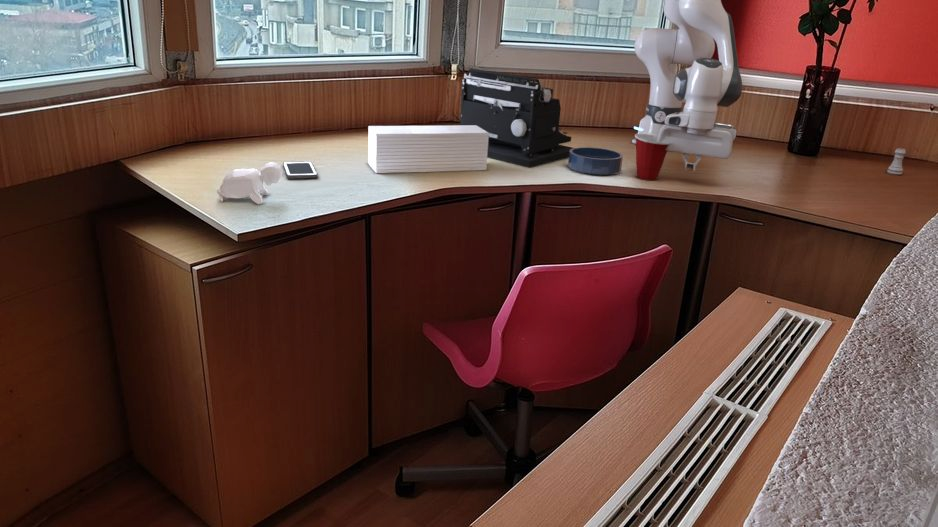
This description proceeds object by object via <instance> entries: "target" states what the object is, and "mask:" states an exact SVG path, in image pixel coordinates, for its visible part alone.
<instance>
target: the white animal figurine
mask: <svg viewBox="0 0 938 527" xmlns="http://www.w3.org/2000/svg"><path fill="white" fill-rule="evenodd" d="M283 176H284V170H283V169H282V166H281V165H280V164H279V163H277V162H272V161H271V162H267V163H266V164H264V165H263V166H262V167H261V168H260V171H259V170H258V169H255V168H236V169H233V170H231V171H229V172H228V173H227V174H226V175H225V176H224V178H223V179H222V182H221V185H220V186H219V188H218V189H217V190H216V191H215V192H216V193H217V195H218V197H219V200H220V202H224V198H226V199H247V198H250V199H251V200H252V201H253V203H255V204H256V205H262V204H263V202H264V198H263V197H262V195H264V196H266V195H268V192H269V191H268V189H267V188H266V187H265V186H264V184H265V185H266V186H271V185H275V184H278V183H279V182H280V181H281V180H282V178H283Z"/></svg>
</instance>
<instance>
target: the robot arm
mask: <svg viewBox="0 0 938 527" xmlns="http://www.w3.org/2000/svg"><path fill="white" fill-rule="evenodd" d="M662 9H663V15H664V16H665V18H666V19H667V20H668V21H669V22H671V23H672V24H674V25H676V26H677V28H676V29H674V28H663V27H654V28H645V29H642V30H641V31H640V32H639V33H638V34H637V36H636V38H635V40H634V44H633V45H634V46H633V47H634V52H635V55H636V57H637V58H638V59H639V60H640V61H641V62H642V63H643V64H644V66H645V68H646V69H647V71H648V75H649V79H650V87H649V88H650V89H649V97H648V103H647V104H646V107H645V116H644V117H642V118H641V119H640V120H639V125H638V127H637V126H633V129H634V130H637V134H650V135H656V136H658V139H657V142H659V143H670V145H668V147H667V148H666V151H667V152H674V153H681V154H682V156H681V158H682V160H683V162H684V170H688V171H696V169H697V165H698V164H699V162H700V161H701V160H702V159H703V157H708V158H714V159H715V158H716V159H724V160H728V159H730V157H731V156H732V154H733V146H734V145H733V144H734V141H735V140H736V138H737V133H738V131H737V128H736V127H735V126H733V124H730V123H722V122H716V120H717V114H718V107H722V108H728V107H730V106H732V105H733V104H735V103H736V102H738V100H739V99H740V97H741V96H742V92H743V80H742V76H741V72H740V68H739V61H738V52H737V44H736V36H735V28H734V24H733V23H734V22H733V19H732V16H731V14H730V13H729V12H727V11H726V10H725V8H724V5H723V3H722V0H664V4H663V8H662ZM716 47H717V55H718V59H714V58H713V56H714V53H715V50H716ZM669 65H685V66H690V67H687V68H683V69H681V70H680V71H679V72H678V73H677V74H675V73H673V72H671V70H670V68H669ZM683 103H685V104H684V106H683ZM631 143H632V144H634V145H636V138H633V139H631ZM689 155H695V159H696V160H695V162H689V159H688V158H689Z"/></svg>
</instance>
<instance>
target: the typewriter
mask: <svg viewBox="0 0 938 527" xmlns="http://www.w3.org/2000/svg"><path fill="white" fill-rule="evenodd" d="M468 71H469V74H468V75H467V73H464V74H463V77H461V97H460V99H461V100H460V118H459V123H460V124H459V125H477V126H478V127H480V128H482V129H483V130H485V131H487V132H488V133H489V136H488V137H489V139H488V146H487V147H488V153H487V159H488V158H489V159H493V160H497V161H500V162H505V163H508V164H513V165H516V166H520V167H525V168H534V167H537V166H542V165H546V164H549V163H553V162H557V161H561V160H566V159H569V150H570V149H573V148H574V147H572V146H568V145H563V144H566V143H570V142H572V136H569V135H568V131H562V127H561V126H560V121H561V120H560V119H561V111H562V110H561V109H562V108H561V101H560V99H559V98H553V96H554V95H553V94H554V89H553V88H549V87H545V86H541V84H542V80H539V79H538V78H534V77H528V76H522V75H515V74H509V73H503V72H496V71H489V70H483V69H477V68H471V67H469V68H468ZM561 131H562V133H561Z"/></svg>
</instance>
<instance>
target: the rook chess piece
mask: <svg viewBox="0 0 938 527" xmlns="http://www.w3.org/2000/svg"><path fill="white" fill-rule="evenodd" d="M894 153H895V154H894V155H893V161H892V162H891V164H890V166H888V167H887V170H886V173H887V174H890V175H893V176H901V175H902V174H903V171H904V169H903V160H904V158H905V157H904V155H906V154H907V152H906V149H905V148H898V147H896V149H895V150H894Z"/></svg>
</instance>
